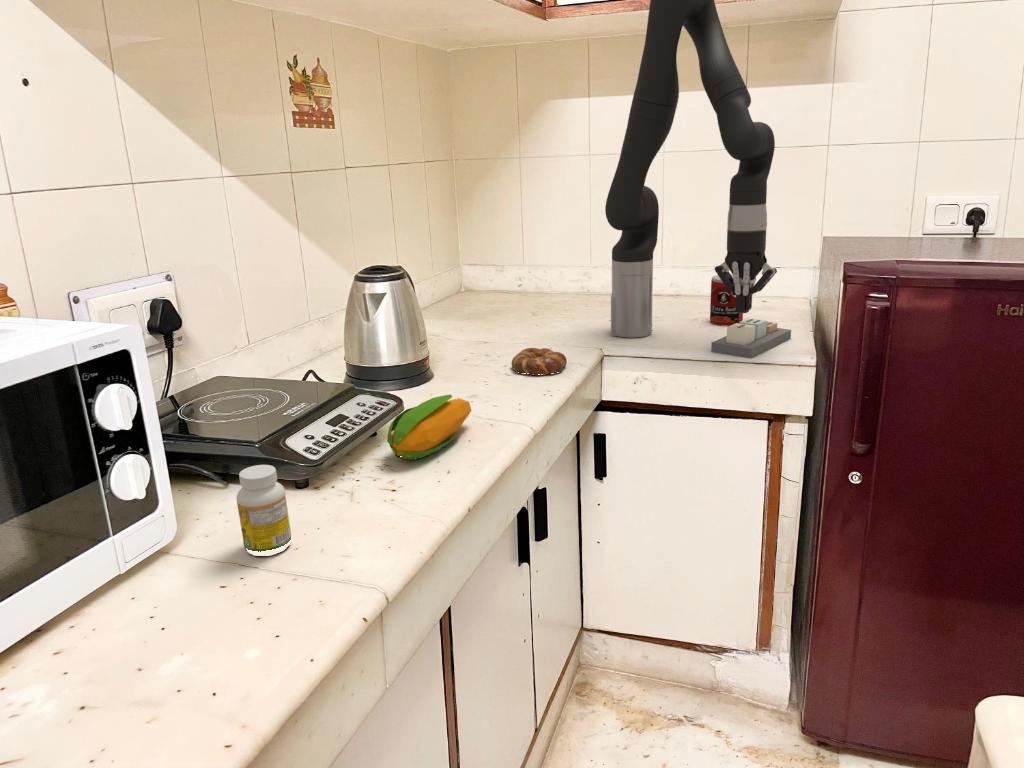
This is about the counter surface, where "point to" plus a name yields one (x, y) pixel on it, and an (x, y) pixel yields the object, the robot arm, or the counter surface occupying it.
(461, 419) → the corn
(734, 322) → the canned food
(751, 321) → the teal tile
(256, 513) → the supplement bottle
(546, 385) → the counter surface
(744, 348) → the frame
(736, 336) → the cream tile
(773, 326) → the slotted peach tile
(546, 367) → the brown bread ring
